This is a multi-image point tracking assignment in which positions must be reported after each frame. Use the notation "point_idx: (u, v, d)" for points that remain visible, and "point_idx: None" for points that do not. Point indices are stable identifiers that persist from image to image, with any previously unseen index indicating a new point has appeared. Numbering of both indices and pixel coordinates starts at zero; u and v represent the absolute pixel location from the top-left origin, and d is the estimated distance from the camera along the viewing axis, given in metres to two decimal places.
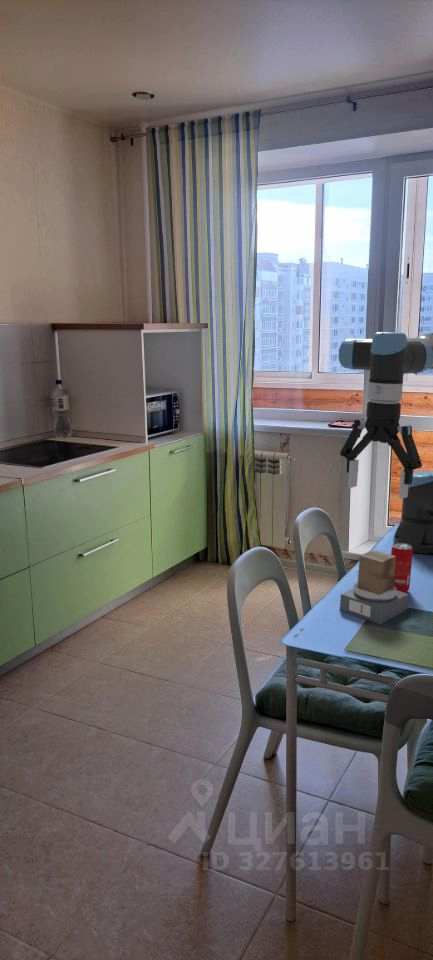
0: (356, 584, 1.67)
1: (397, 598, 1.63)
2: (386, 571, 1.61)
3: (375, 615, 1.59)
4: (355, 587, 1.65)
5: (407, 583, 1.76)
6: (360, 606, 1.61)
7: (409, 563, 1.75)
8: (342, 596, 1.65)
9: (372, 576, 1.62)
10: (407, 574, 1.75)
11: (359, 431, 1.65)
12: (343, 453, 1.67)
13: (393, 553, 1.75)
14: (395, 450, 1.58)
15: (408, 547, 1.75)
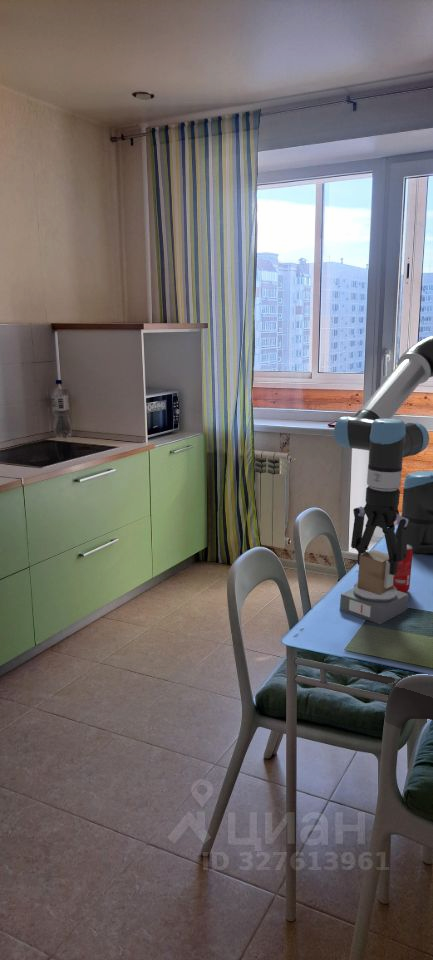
0: (356, 584, 1.67)
1: (397, 598, 1.63)
2: None
3: (375, 615, 1.59)
4: (355, 587, 1.65)
5: (407, 583, 1.76)
6: (360, 606, 1.61)
7: (409, 563, 1.75)
8: (342, 596, 1.65)
9: (372, 576, 1.62)
10: (407, 574, 1.75)
11: (361, 519, 1.65)
12: (354, 545, 1.66)
13: None
14: (387, 539, 1.60)
15: (408, 547, 1.75)
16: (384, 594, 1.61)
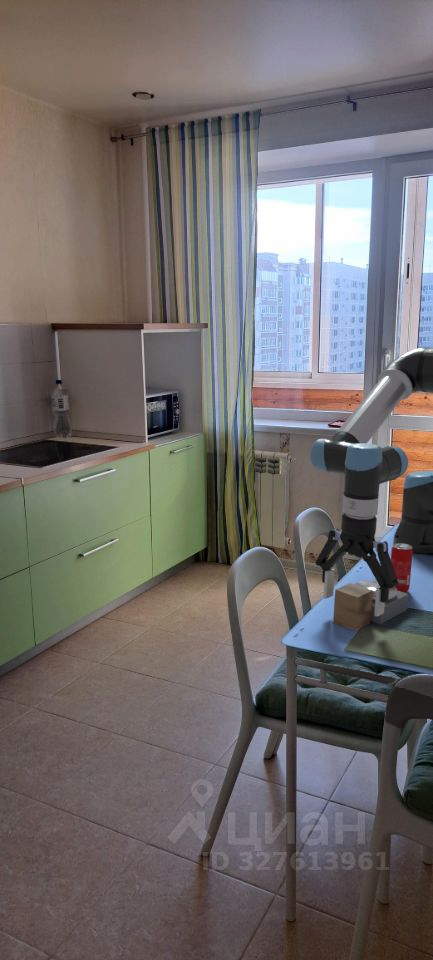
0: (356, 584, 1.67)
1: (397, 598, 1.63)
2: (362, 606, 1.55)
3: None
4: None
5: (407, 583, 1.76)
6: None
7: (409, 563, 1.75)
8: None
9: (348, 611, 1.56)
10: (407, 574, 1.75)
11: (334, 541, 1.59)
12: (318, 563, 1.62)
13: (393, 553, 1.75)
14: (370, 566, 1.52)
15: (408, 547, 1.75)
16: None
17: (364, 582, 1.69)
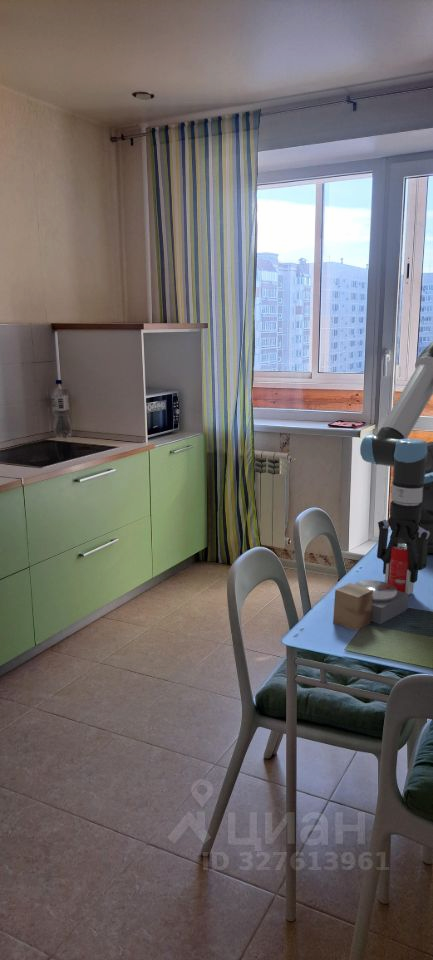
0: (356, 584, 1.67)
1: (397, 598, 1.63)
2: (362, 606, 1.55)
3: (375, 615, 1.59)
4: None
5: None
6: None
7: None
8: None
9: (348, 612, 1.56)
10: None
11: (386, 531, 1.78)
12: (379, 555, 1.79)
13: (393, 553, 1.75)
14: (409, 549, 1.73)
15: None
16: (384, 594, 1.61)
17: (364, 582, 1.69)
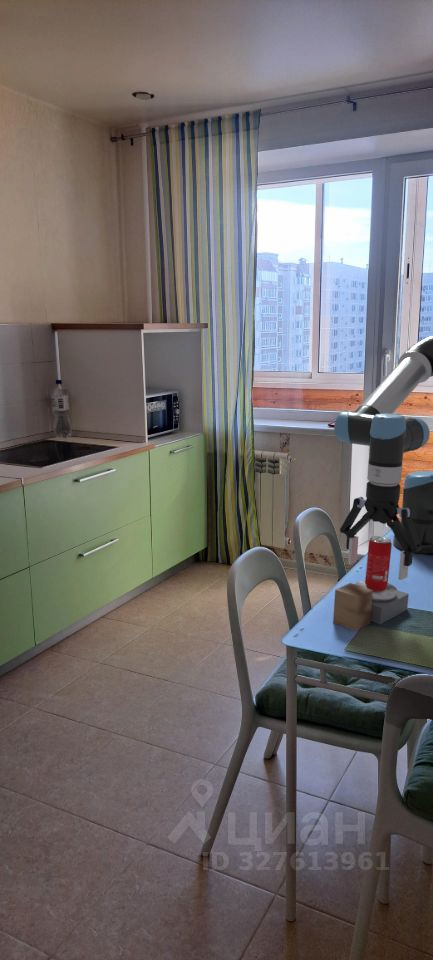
0: (356, 584, 1.67)
1: (397, 598, 1.63)
2: (362, 606, 1.55)
3: (375, 615, 1.59)
4: None
5: (385, 579, 1.62)
6: None
7: (387, 558, 1.61)
8: None
9: (348, 611, 1.56)
10: (385, 570, 1.62)
11: (359, 509, 1.65)
12: (343, 530, 1.68)
13: (370, 547, 1.62)
14: (395, 532, 1.58)
15: (387, 540, 1.62)
16: (384, 594, 1.61)
17: (364, 582, 1.69)
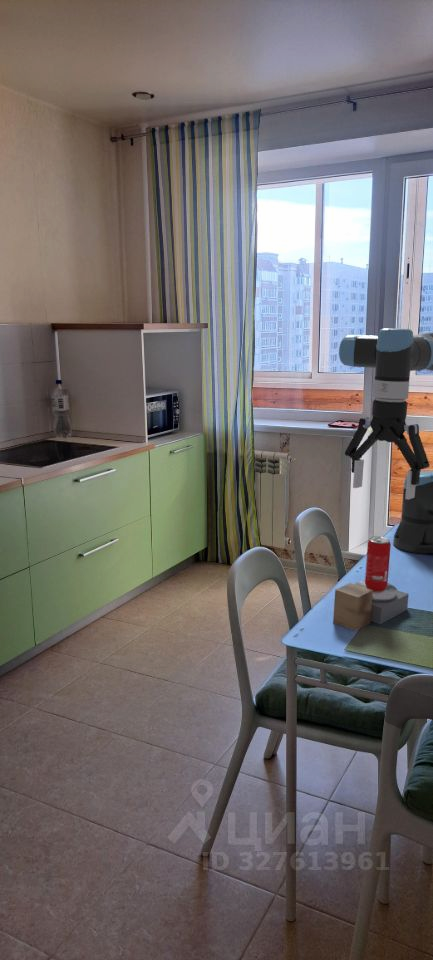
0: (356, 584, 1.67)
1: (397, 598, 1.63)
2: (362, 606, 1.55)
3: (375, 615, 1.59)
4: None
5: (385, 579, 1.62)
6: None
7: (387, 558, 1.61)
8: None
9: (348, 612, 1.56)
10: (385, 570, 1.62)
11: (364, 430, 1.61)
12: (348, 453, 1.63)
13: (369, 547, 1.62)
14: (402, 449, 1.54)
15: (385, 541, 1.61)
16: (384, 594, 1.61)
17: (364, 582, 1.69)
